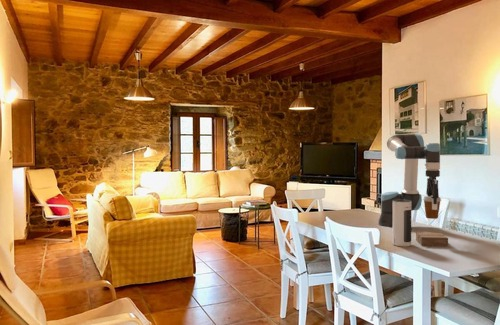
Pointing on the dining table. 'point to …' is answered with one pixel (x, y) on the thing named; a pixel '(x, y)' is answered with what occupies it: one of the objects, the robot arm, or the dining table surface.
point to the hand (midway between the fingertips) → (432, 208)
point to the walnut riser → (431, 239)
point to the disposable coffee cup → (428, 207)
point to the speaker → (402, 222)
